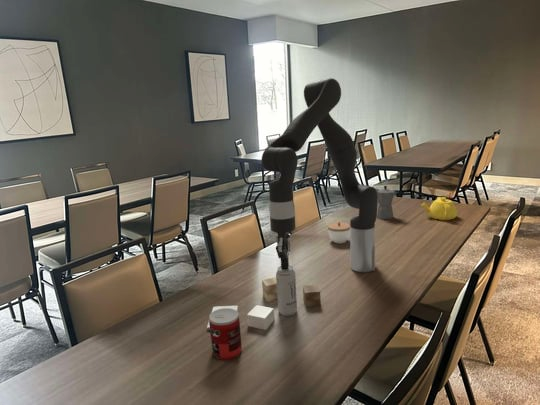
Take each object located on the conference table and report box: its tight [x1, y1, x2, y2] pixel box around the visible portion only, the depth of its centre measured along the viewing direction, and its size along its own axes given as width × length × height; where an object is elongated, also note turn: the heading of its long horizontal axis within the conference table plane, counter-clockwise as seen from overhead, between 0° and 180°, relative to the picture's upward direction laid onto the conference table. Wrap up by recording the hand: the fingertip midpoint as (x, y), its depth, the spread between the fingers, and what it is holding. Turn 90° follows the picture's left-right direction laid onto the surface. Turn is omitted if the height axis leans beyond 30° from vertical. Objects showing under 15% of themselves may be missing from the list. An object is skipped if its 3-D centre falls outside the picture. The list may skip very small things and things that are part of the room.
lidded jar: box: [327, 222, 350, 244], centre depth 180 cm, size 11×11×9 cm
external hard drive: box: [206, 305, 239, 331], centre depth 120 cm, size 2×8×12 cm
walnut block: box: [302, 284, 322, 308], centre depth 126 cm, size 5×5×5 cm
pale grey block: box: [246, 304, 275, 331], centre depth 116 cm, size 6×6×4 cm
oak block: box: [261, 276, 278, 303], centre depth 131 cm, size 5×5×6 cm
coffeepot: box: [375, 185, 398, 220], centre depth 213 cm, size 15×9×18 cm, turn 44°
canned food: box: [208, 308, 243, 361], centre depth 102 cm, size 8×8×11 cm
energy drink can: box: [275, 265, 298, 317], centre depth 120 cm, size 6×6×15 cm
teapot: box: [421, 196, 458, 221], centre depth 206 cm, size 20×18×11 cm
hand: (285, 268), depth 118 cm, fingers closed
